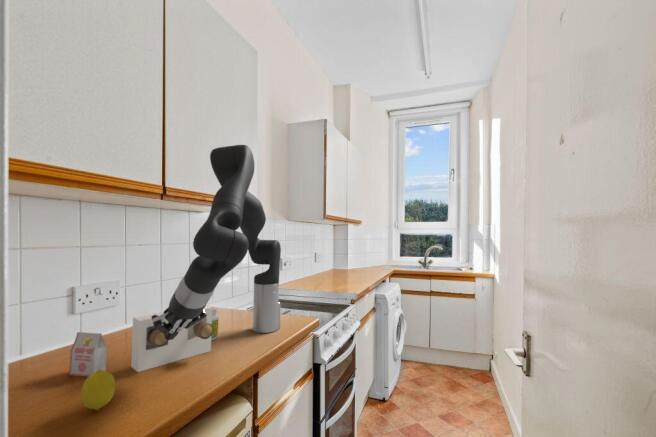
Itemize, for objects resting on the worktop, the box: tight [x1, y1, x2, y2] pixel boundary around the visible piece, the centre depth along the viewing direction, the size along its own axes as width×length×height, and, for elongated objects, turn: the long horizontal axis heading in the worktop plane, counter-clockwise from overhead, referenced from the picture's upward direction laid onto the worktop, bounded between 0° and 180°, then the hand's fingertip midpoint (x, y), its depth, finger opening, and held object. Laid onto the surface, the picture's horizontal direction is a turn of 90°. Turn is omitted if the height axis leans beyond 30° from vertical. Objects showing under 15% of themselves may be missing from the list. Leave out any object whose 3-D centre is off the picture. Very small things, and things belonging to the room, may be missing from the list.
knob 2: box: [193, 321, 214, 339], centre depth 91 cm, size 4×6×4 cm
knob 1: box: [148, 328, 168, 347], centre depth 85 cm, size 4×6×4 cm
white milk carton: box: [69, 331, 108, 378], centre depth 80 cm, size 4×7×10 cm, turn 81°
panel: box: [130, 305, 213, 373], centre depth 90 cm, size 20×5×13 cm, turn 139°
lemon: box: [80, 369, 116, 412], centre depth 64 cm, size 6×6×8 cm
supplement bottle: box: [211, 307, 219, 341], centre depth 107 cm, size 5×5×10 cm
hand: (168, 336), depth 79 cm, fingers closed
